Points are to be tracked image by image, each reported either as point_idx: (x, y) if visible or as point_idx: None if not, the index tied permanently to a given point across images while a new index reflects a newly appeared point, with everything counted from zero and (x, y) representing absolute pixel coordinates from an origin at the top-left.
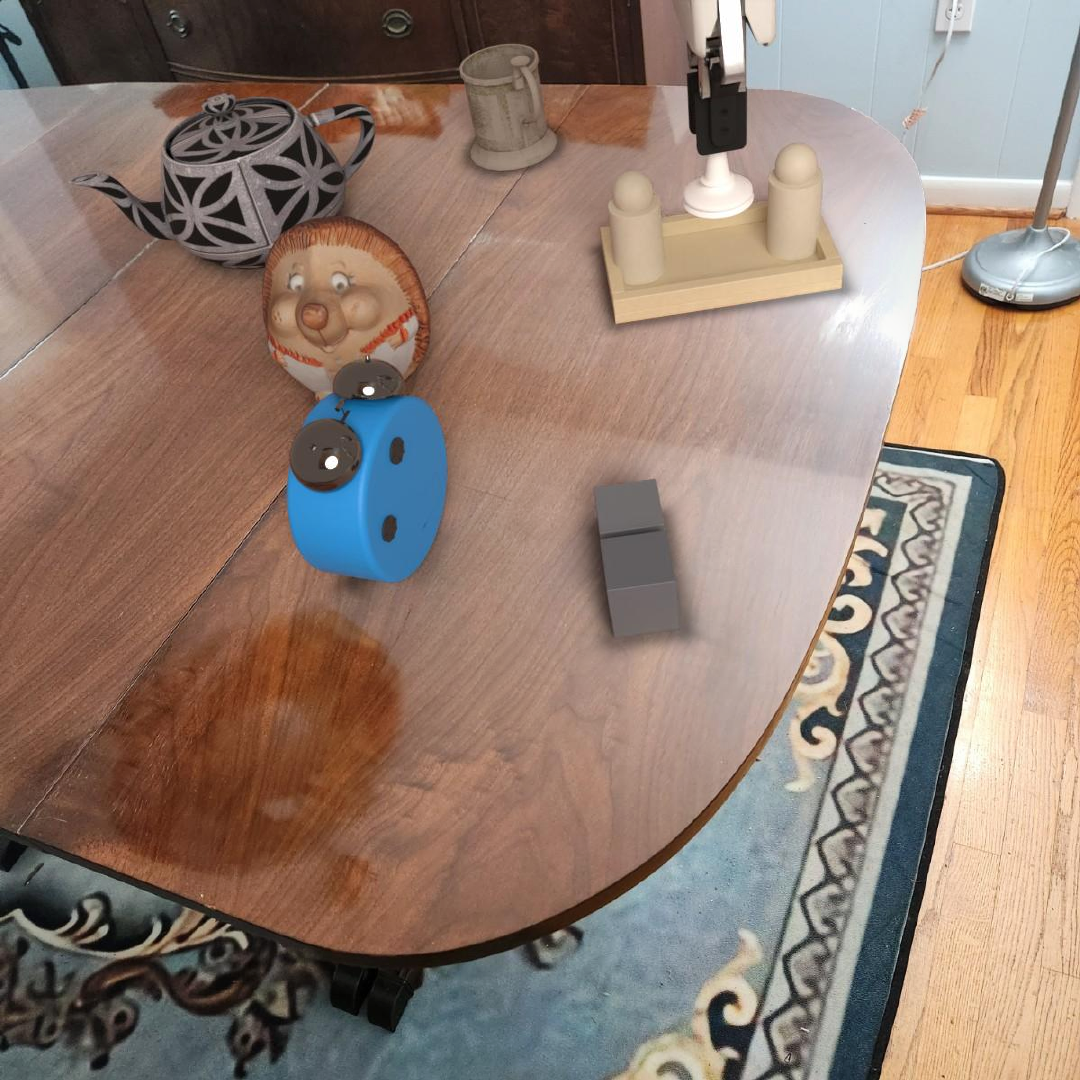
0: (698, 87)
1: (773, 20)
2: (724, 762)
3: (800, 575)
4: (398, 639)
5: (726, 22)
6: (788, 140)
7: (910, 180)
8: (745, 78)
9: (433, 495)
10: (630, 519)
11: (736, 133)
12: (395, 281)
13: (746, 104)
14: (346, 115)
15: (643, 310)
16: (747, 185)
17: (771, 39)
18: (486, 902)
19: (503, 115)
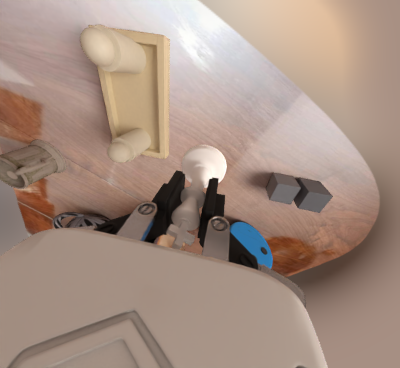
0: (172, 222)
1: (324, 358)
2: (373, 186)
3: (329, 139)
4: (272, 234)
5: None
6: (17, 8)
7: None
8: (301, 290)
9: (242, 229)
10: (291, 195)
11: (224, 197)
12: (163, 235)
13: (215, 199)
14: (61, 227)
15: (167, 145)
16: (209, 153)
17: (304, 307)
18: (357, 237)
19: (40, 170)
